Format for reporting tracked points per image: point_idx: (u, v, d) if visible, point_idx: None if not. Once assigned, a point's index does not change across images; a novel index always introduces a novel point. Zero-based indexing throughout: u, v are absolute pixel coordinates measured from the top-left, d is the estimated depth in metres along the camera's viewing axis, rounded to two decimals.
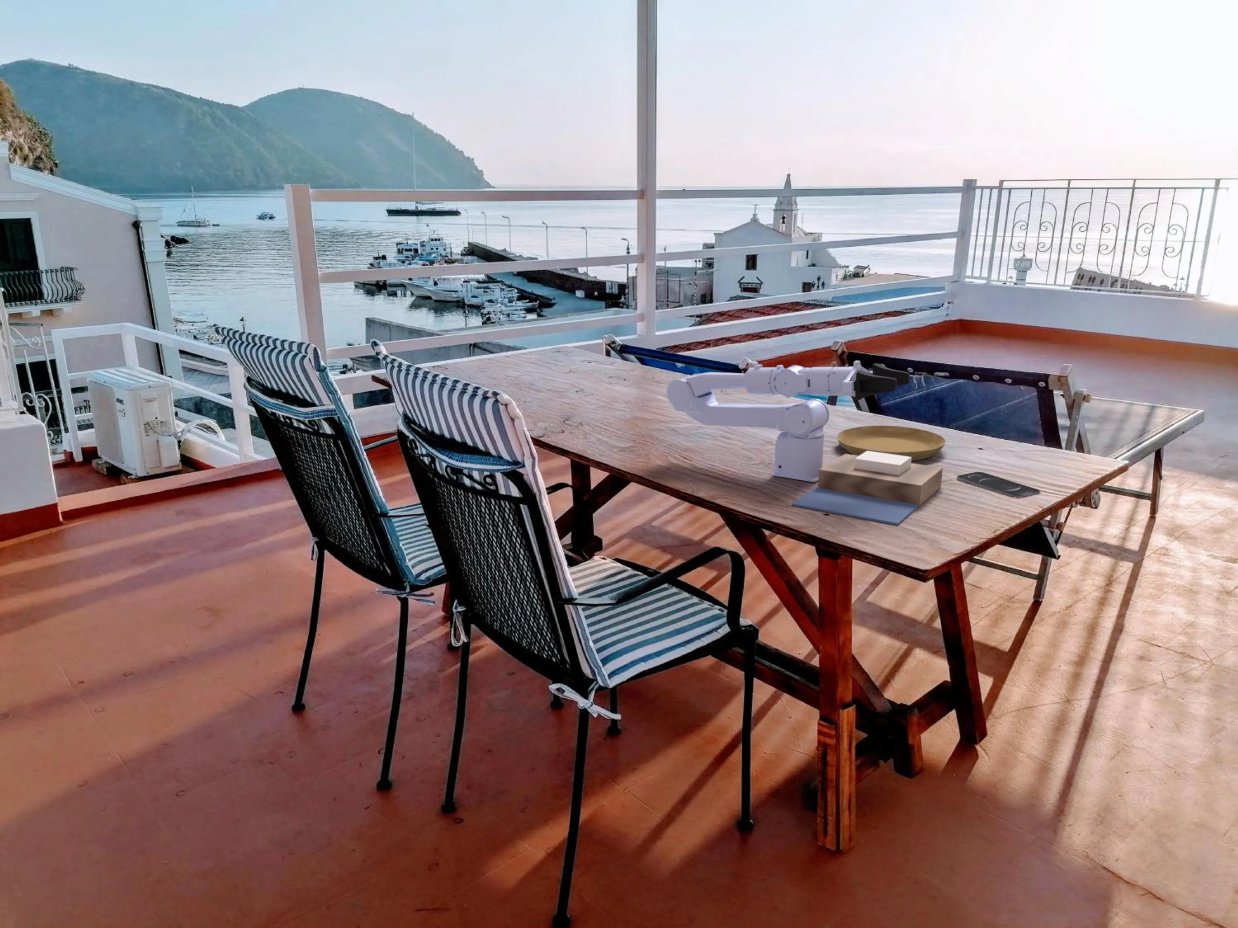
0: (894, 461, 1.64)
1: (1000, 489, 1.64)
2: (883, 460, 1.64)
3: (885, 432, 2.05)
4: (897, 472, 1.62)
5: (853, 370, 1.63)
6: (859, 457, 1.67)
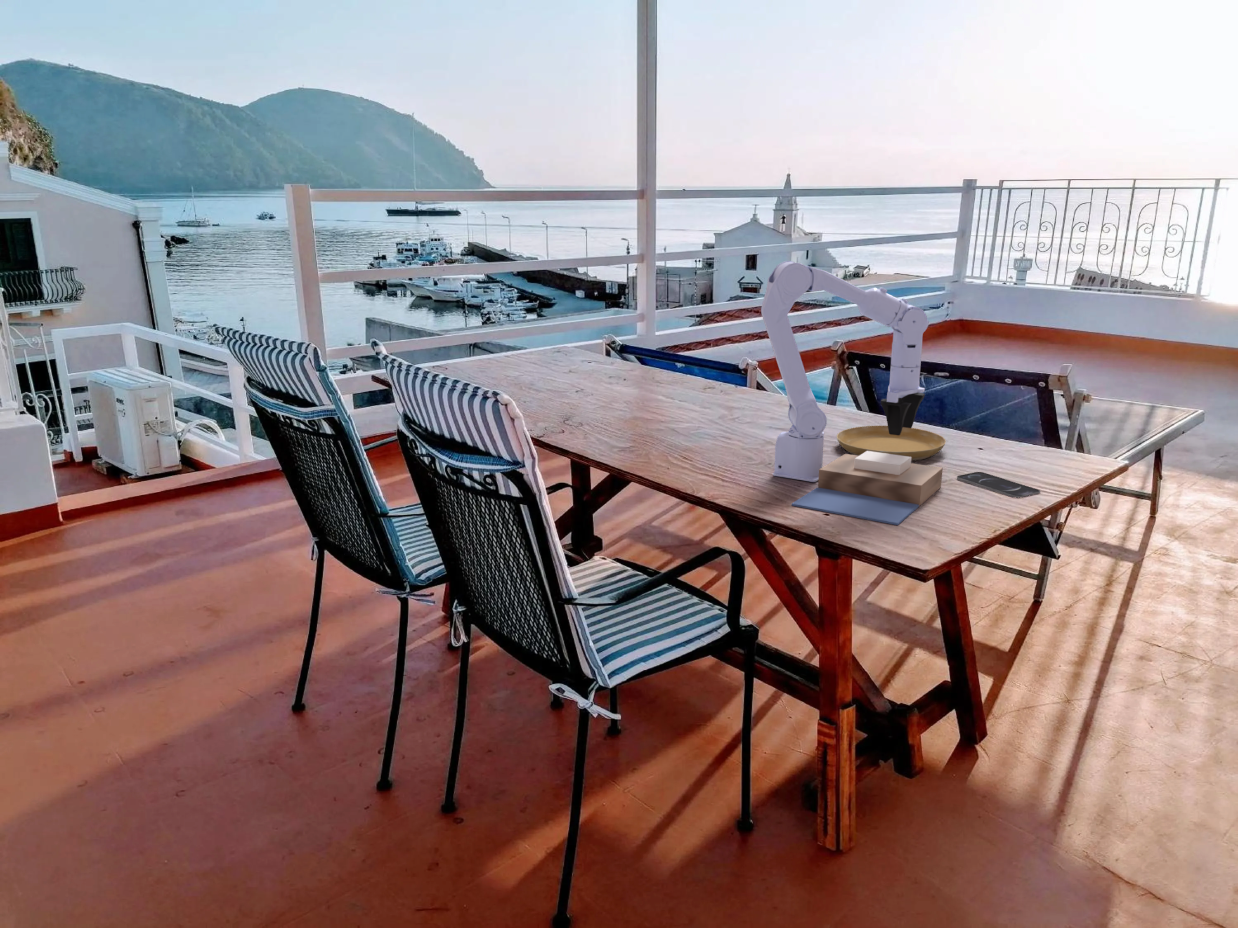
0: (894, 461, 1.64)
1: (1000, 489, 1.64)
2: (883, 460, 1.64)
3: (885, 432, 2.05)
4: (897, 472, 1.62)
5: (912, 391, 1.68)
6: (859, 457, 1.67)
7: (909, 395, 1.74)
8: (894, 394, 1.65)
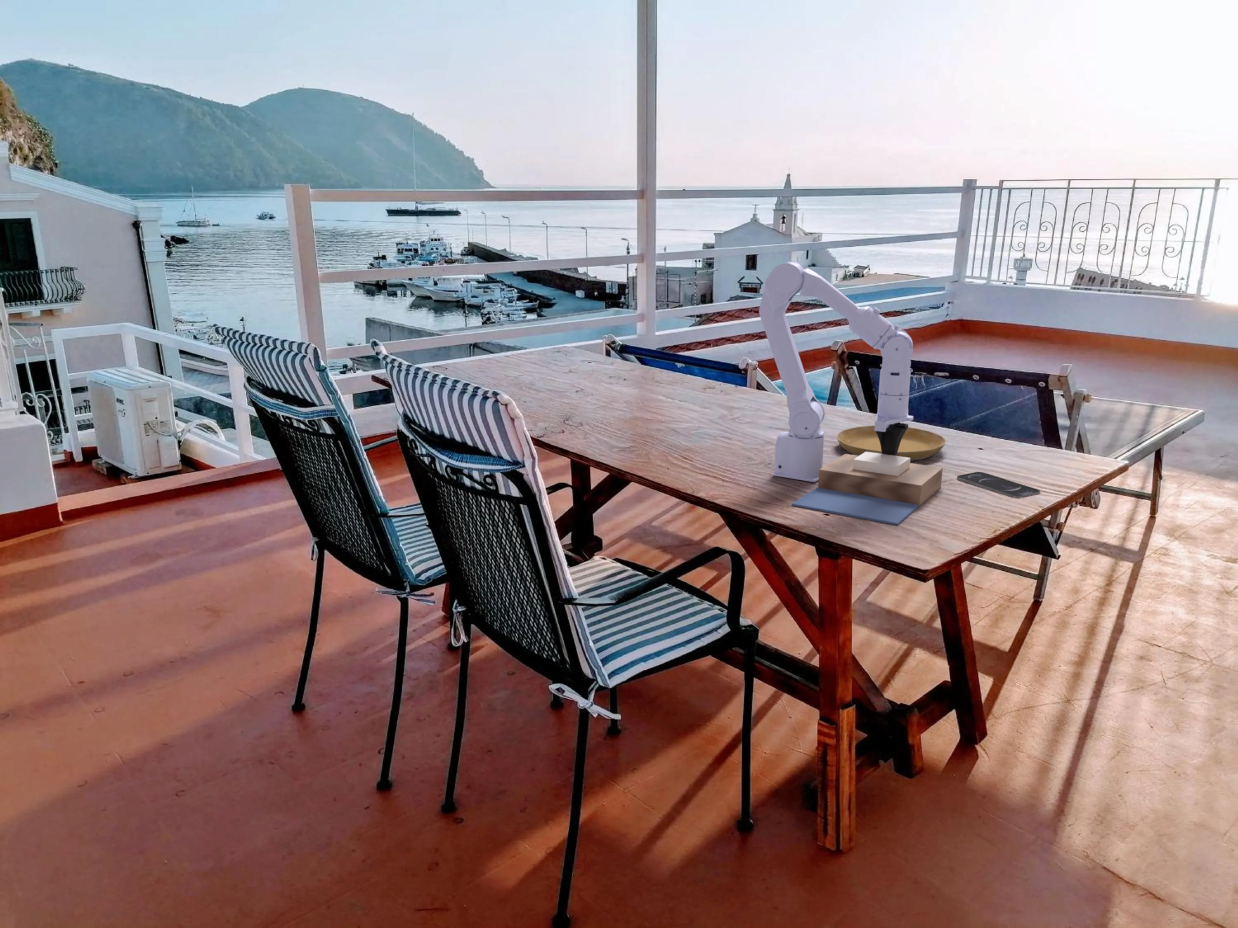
0: (893, 461, 1.63)
1: (1000, 489, 1.64)
2: (882, 461, 1.64)
3: None
4: (896, 473, 1.61)
5: (901, 420, 1.64)
6: (858, 458, 1.66)
7: None
8: (882, 423, 1.61)
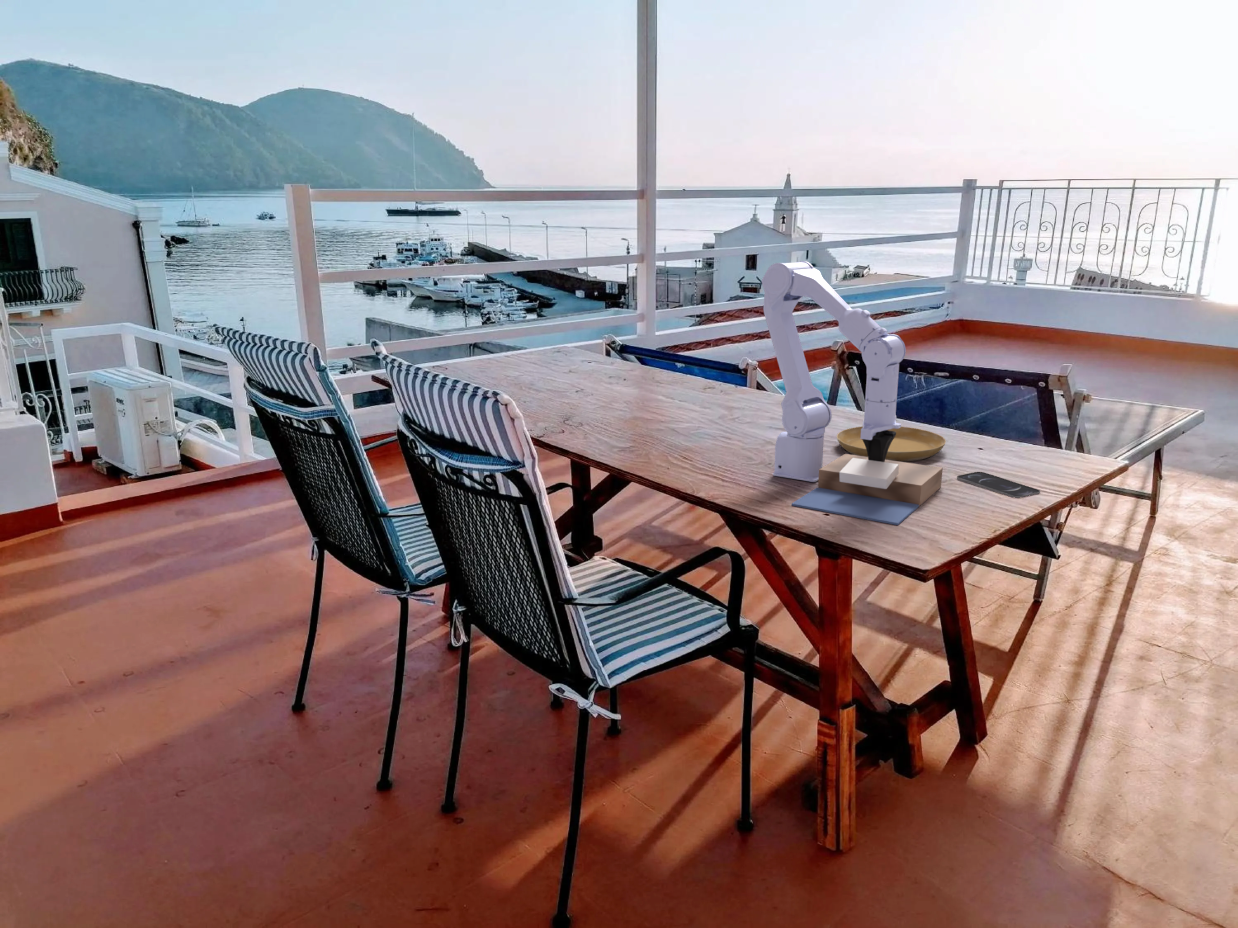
0: (881, 472, 1.57)
1: (1000, 489, 1.64)
2: (869, 473, 1.58)
3: None
4: (884, 486, 1.56)
5: (888, 427, 1.58)
6: (844, 469, 1.60)
7: None
8: (868, 431, 1.55)
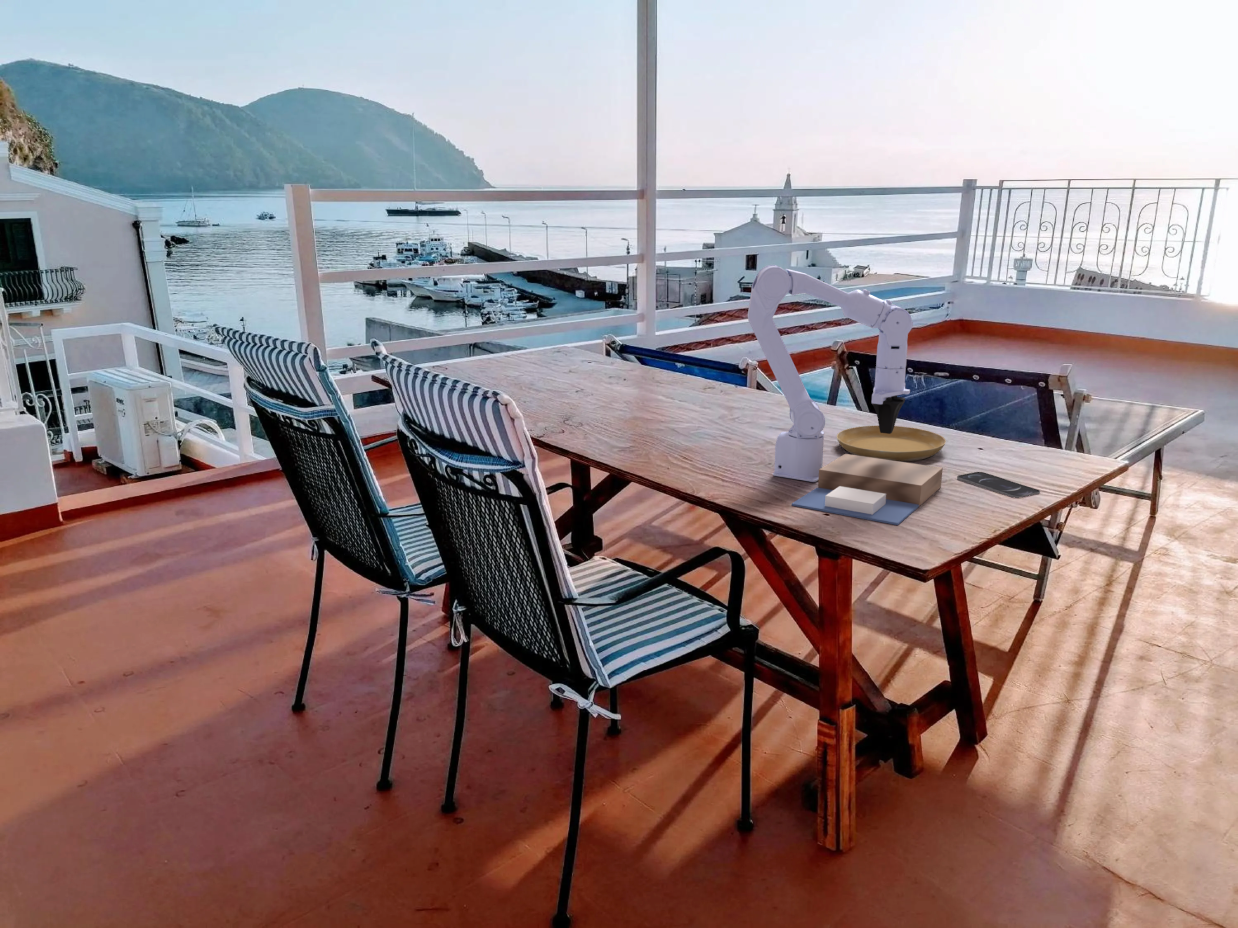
0: None
1: (1000, 489, 1.64)
2: None
3: None
4: None
5: (898, 393, 1.67)
6: None
7: None
8: (879, 396, 1.64)
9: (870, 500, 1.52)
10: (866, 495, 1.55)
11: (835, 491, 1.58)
